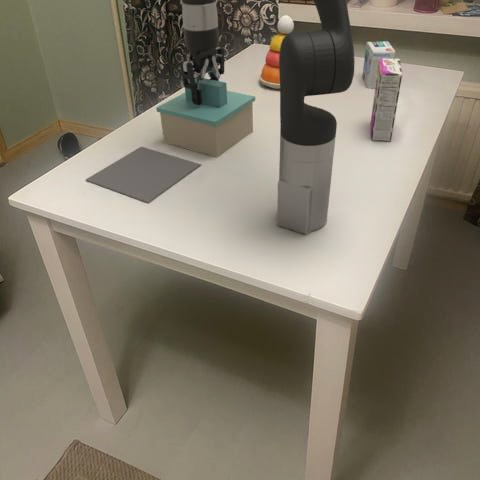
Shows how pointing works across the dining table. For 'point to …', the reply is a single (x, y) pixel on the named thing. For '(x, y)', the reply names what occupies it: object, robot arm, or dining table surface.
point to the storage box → (208, 132)
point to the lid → (207, 103)
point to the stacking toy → (275, 54)
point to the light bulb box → (375, 60)
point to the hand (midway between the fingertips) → (206, 99)
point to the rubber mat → (143, 174)
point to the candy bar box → (385, 99)
